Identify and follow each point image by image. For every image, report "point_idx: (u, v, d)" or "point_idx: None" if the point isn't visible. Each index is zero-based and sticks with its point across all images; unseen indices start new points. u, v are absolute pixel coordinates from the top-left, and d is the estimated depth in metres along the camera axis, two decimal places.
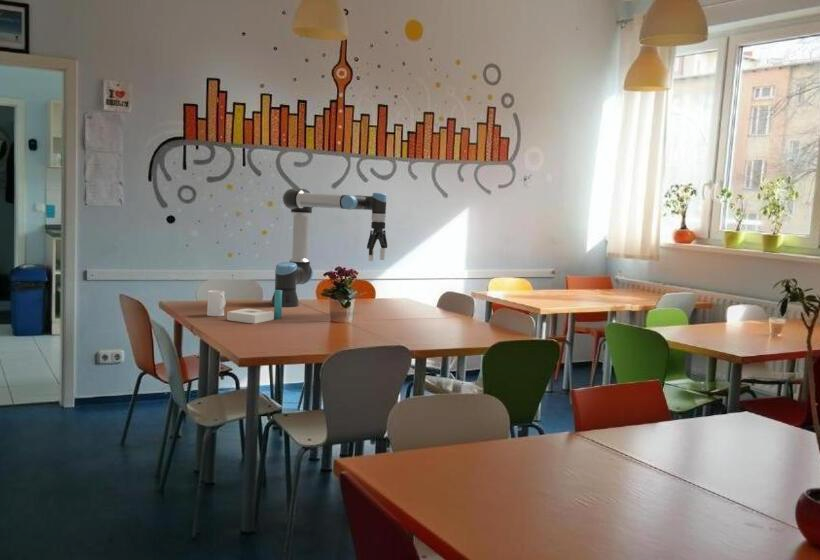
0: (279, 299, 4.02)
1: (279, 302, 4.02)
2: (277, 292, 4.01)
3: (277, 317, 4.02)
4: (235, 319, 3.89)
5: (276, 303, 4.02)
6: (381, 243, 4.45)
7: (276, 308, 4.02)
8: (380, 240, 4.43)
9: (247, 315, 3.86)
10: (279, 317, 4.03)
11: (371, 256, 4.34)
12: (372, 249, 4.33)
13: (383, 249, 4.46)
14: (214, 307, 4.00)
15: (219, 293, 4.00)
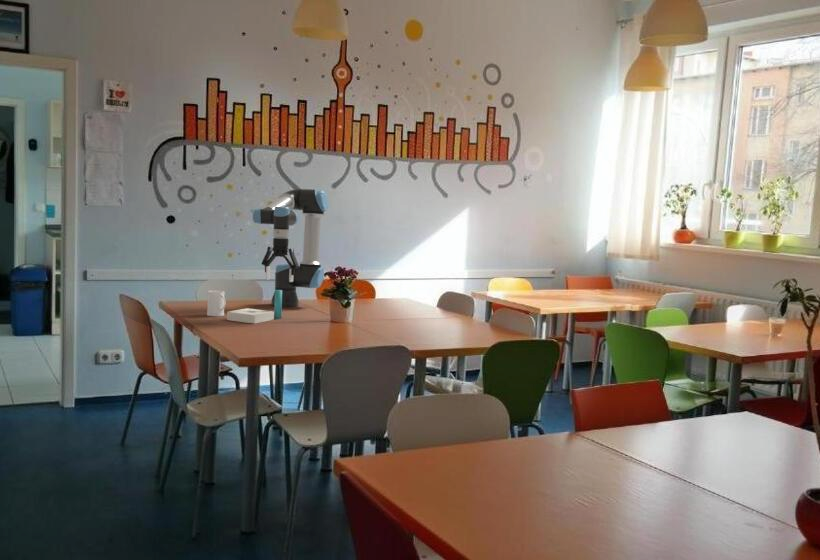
0: (279, 299, 4.02)
1: (279, 302, 4.02)
2: (277, 292, 4.01)
3: (277, 317, 4.02)
4: (235, 319, 3.89)
5: (276, 303, 4.02)
6: None
7: (276, 308, 4.02)
8: None
9: (247, 315, 3.86)
10: (279, 317, 4.03)
11: None
12: None
13: None
14: (214, 307, 4.00)
15: (219, 293, 4.00)
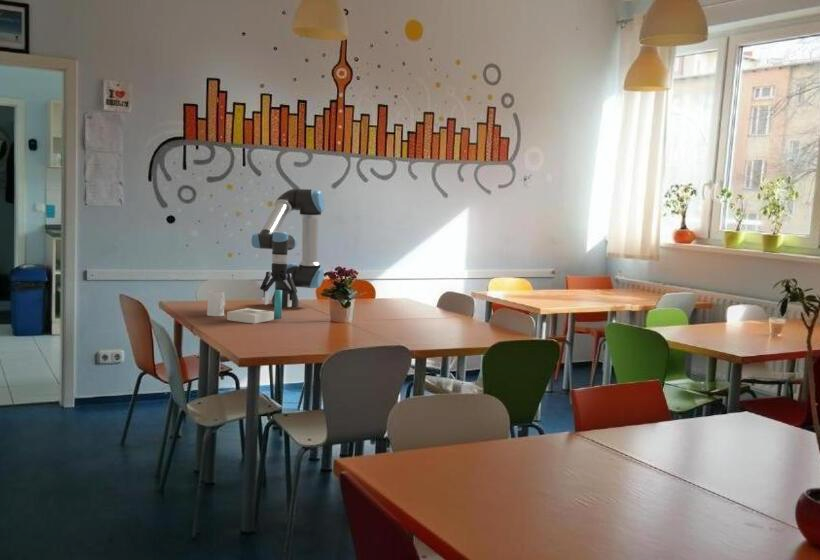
0: (279, 299, 4.02)
1: (279, 302, 4.02)
2: (277, 292, 4.01)
3: (277, 317, 4.02)
4: (235, 319, 3.89)
5: (276, 303, 4.02)
6: None
7: (276, 308, 4.02)
8: None
9: (247, 315, 3.86)
10: (279, 317, 4.03)
11: None
12: None
13: None
14: (214, 307, 4.00)
15: (219, 293, 4.00)
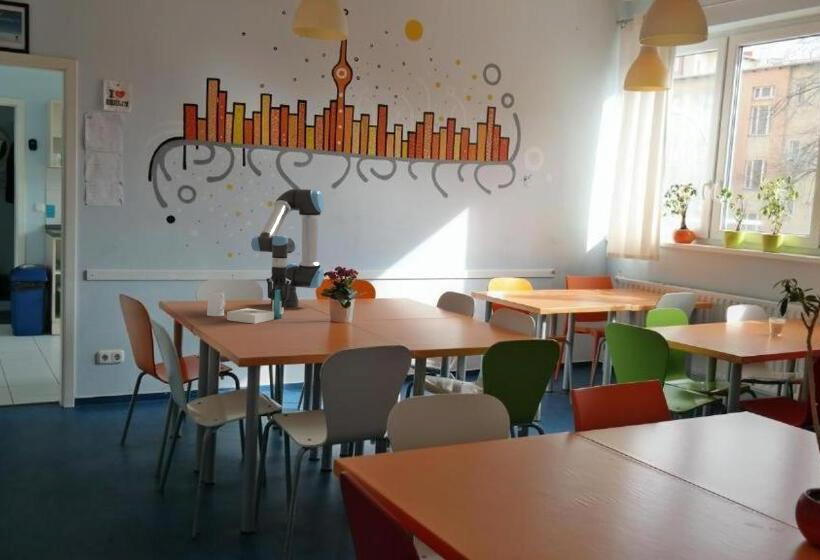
0: (279, 299, 4.02)
1: (279, 302, 4.02)
2: (277, 292, 4.01)
3: (277, 317, 4.02)
4: (235, 319, 3.89)
5: (276, 303, 4.02)
6: None
7: (276, 308, 4.02)
8: None
9: (247, 315, 3.86)
10: (279, 317, 4.03)
11: None
12: (273, 300, 4.04)
13: None
14: (214, 307, 4.00)
15: (219, 293, 4.00)
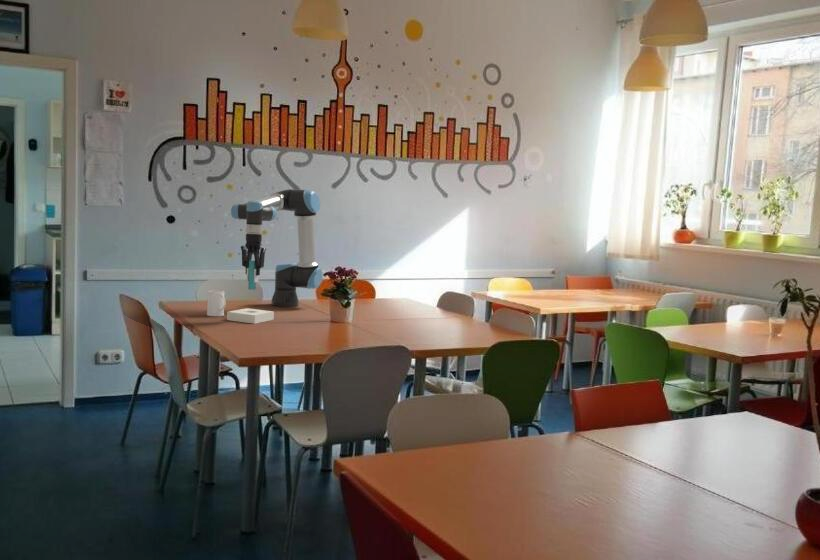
0: (253, 269, 3.91)
1: (253, 272, 3.91)
2: (251, 262, 3.91)
3: (251, 288, 3.92)
4: (235, 319, 3.89)
5: (250, 273, 3.91)
6: None
7: (250, 279, 3.91)
8: None
9: (247, 315, 3.86)
10: (253, 288, 3.92)
11: None
12: (247, 268, 3.93)
13: None
14: (214, 307, 4.00)
15: (219, 293, 4.00)
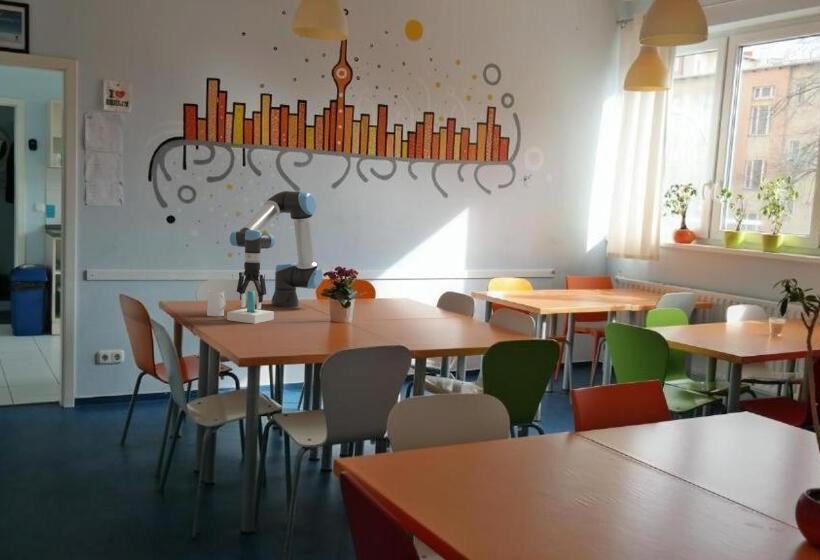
0: (252, 300, 3.93)
1: (252, 303, 3.93)
2: (250, 293, 3.92)
3: None
4: (235, 319, 3.89)
5: (249, 304, 3.93)
6: None
7: (249, 309, 3.93)
8: None
9: (247, 315, 3.86)
10: None
11: None
12: None
13: None
14: (214, 307, 4.00)
15: (219, 293, 4.00)
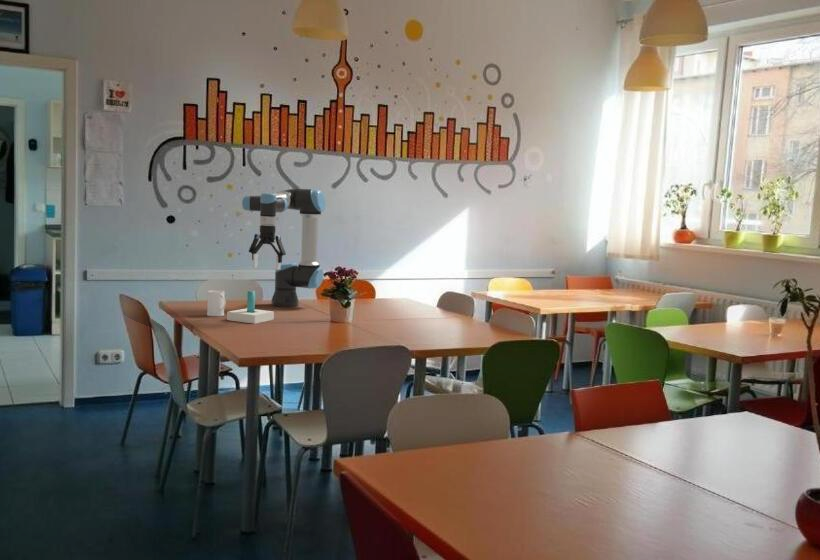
0: (252, 300, 3.93)
1: (252, 303, 3.93)
2: (250, 293, 3.92)
3: None
4: (235, 319, 3.89)
5: (249, 304, 3.93)
6: None
7: (249, 309, 3.93)
8: None
9: (247, 315, 3.86)
10: None
11: None
12: None
13: None
14: (214, 307, 4.00)
15: (219, 293, 4.00)
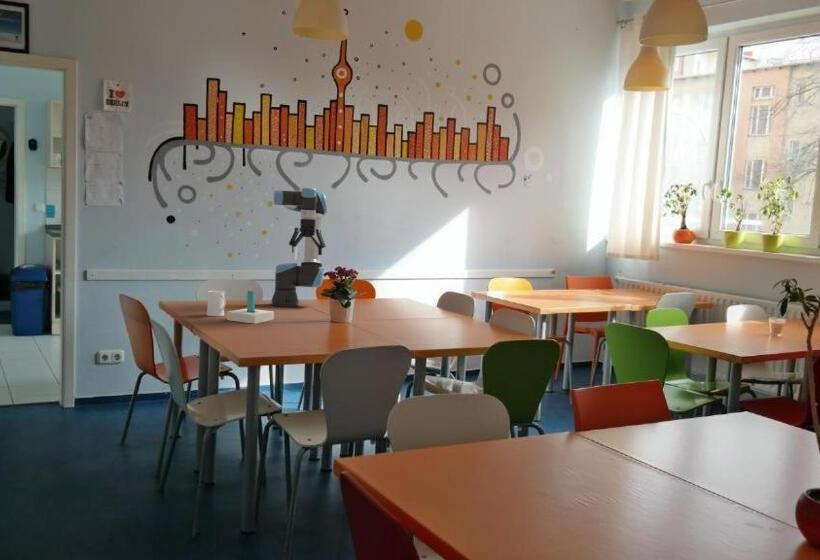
0: (252, 300, 3.93)
1: (252, 303, 3.93)
2: (250, 293, 3.92)
3: None
4: (235, 319, 3.89)
5: (249, 304, 3.93)
6: None
7: (249, 309, 3.93)
8: None
9: (247, 315, 3.86)
10: None
11: None
12: (294, 247, 4.13)
13: None
14: (214, 307, 4.00)
15: (219, 293, 4.00)
